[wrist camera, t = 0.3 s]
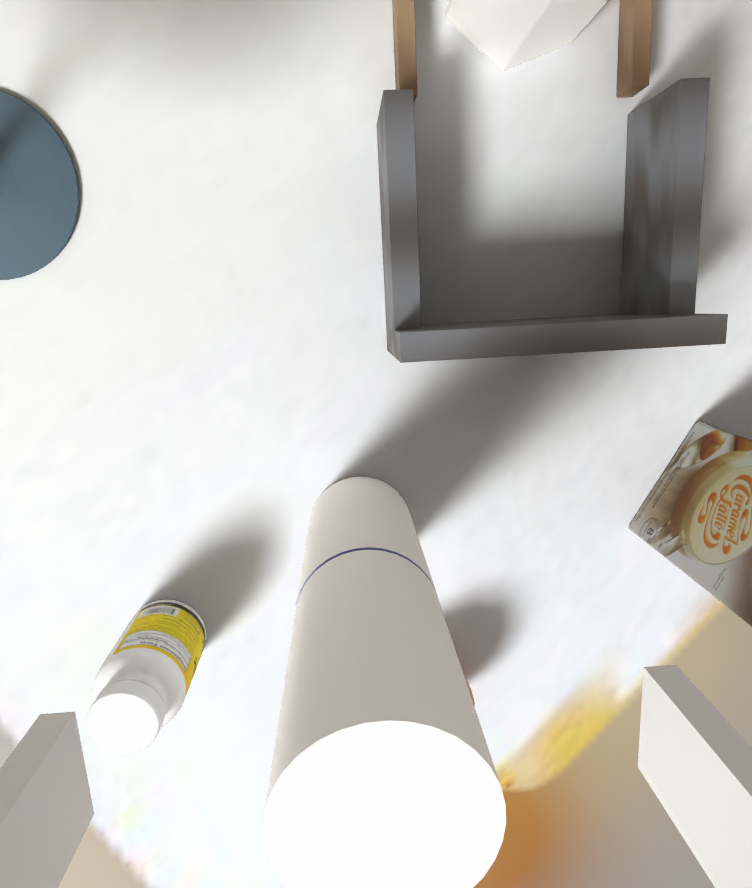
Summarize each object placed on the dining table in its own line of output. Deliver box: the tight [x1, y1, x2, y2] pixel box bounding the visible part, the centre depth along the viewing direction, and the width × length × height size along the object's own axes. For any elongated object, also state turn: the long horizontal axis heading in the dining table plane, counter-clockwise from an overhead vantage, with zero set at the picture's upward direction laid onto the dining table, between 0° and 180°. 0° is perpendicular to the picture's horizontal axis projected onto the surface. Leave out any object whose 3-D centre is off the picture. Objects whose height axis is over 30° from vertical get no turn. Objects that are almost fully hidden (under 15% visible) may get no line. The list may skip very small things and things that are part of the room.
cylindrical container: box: [263, 476, 506, 888], centre depth 30 cm, size 7×7×25 cm
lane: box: [377, 0, 728, 363], centre depth 32 cm, size 31×17×9 cm, turn 3°
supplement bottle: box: [87, 600, 206, 754], centre depth 38 cm, size 5×5×10 cm
